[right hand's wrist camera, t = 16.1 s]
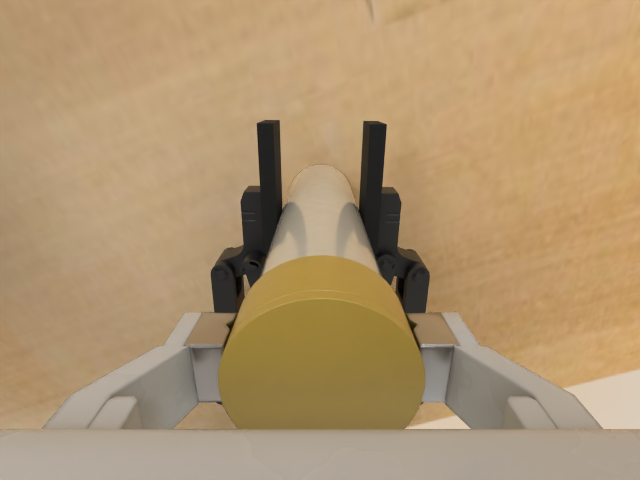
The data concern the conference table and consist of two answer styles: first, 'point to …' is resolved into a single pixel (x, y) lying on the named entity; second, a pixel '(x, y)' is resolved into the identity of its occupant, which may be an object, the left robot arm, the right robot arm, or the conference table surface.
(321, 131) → the conference table surface
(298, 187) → the white bottle
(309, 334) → the lid
